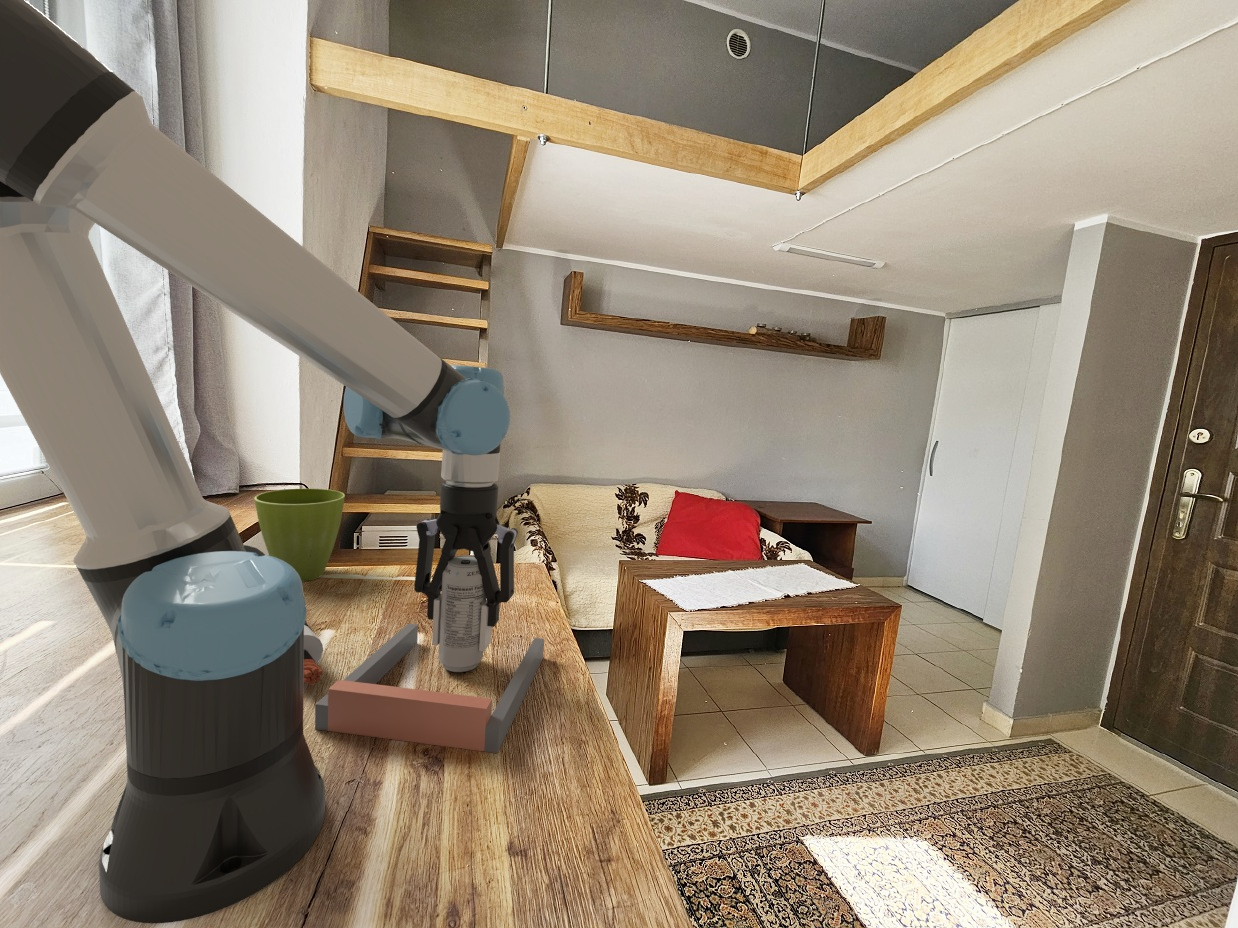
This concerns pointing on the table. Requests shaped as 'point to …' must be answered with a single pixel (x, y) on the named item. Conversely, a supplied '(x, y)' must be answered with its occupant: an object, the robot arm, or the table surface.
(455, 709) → the guide lane
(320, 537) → the flower pot
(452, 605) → the energy drink can
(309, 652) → the cable
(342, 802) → the table surface
